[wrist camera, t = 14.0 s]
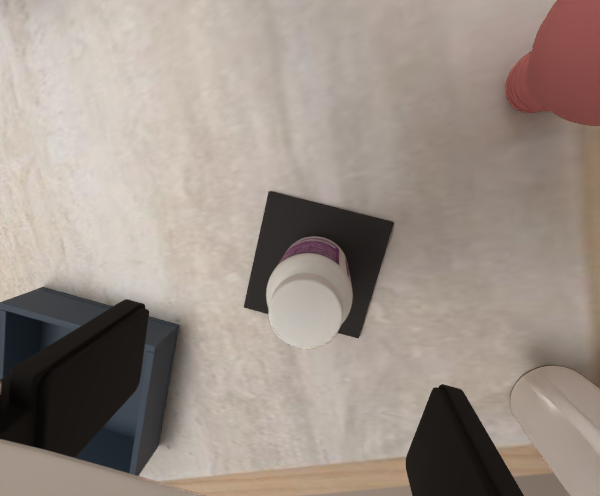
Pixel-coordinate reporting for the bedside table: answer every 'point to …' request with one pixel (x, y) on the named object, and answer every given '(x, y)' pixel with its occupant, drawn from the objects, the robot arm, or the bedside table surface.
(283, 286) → the pill bottle
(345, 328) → the mat
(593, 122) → the light bulb
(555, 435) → the mug
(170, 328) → the bin
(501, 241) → the bedside table surface
